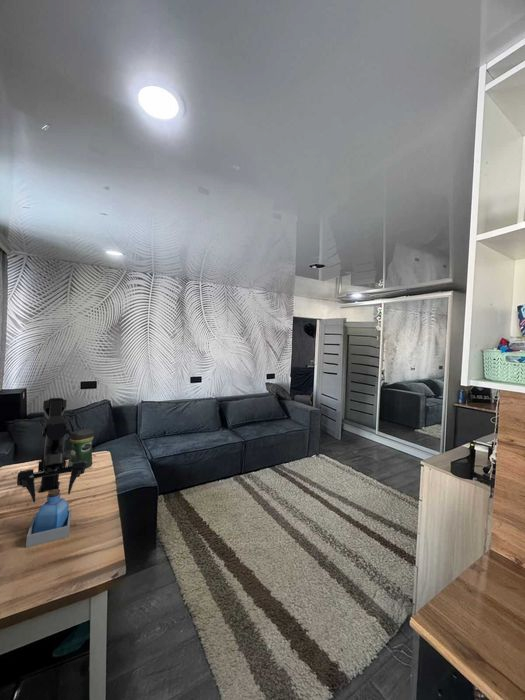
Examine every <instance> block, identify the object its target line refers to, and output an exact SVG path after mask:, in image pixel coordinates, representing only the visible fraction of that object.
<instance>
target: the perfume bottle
mask: <svg viewBox="0 0 525 700" xmlns="http://www.w3.org/2000/svg"><path fill="white" fill-rule="evenodd" d="M69 506H70V505H69V502H67V500H66V499H65V498H63V497H62V498H61V489H60V488H59V489H53V490H50V491H47V495H46V502H45V503H43V504H42V505H41V507H40V508H39V510H38V511H37V513H36V514H35V516H34V517H35V527H34V533H39V532H43V531H47V530H52V529H56V528H60V527H64V526H65V525H66V524H67V520H68V510H69Z"/></svg>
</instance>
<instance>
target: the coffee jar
mask: <svg viewBox="0 0 525 700" xmlns="http://www.w3.org/2000/svg"><path fill="white" fill-rule="evenodd" d="M94 437H95V433H94V430H93V428H89V427H88V428H84V429H79V430H75V431H72V432H70V437H69V443H70V459H69V460H68V464H67V467H70V466H72V464H73V462H80V461H85V462H86V468H85V470H86V469H88V468H90V467H92V465H93V440H94Z"/></svg>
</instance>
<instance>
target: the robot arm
mask: <svg viewBox="0 0 525 700" xmlns="http://www.w3.org/2000/svg"><path fill="white" fill-rule="evenodd" d="M67 402H68V401H67V399H64V398H63V397H51V398H49V399H46V400H44V401H43V403H42V411H44V415H43V416H45V418H46V420H45V425H44V426H42V436H41V437H42V438H44V439H45V442H44V452H43V453H42V454H41V458H40V459H41V460H40V461H38V465H37V466H38V467H37V471H36V472H34V468H32V469H24V470H20V471H19V472H18V473H17V479H16V484H17V485H16V486H19V487H20V486H21V487H22V488H26V490H27V491H28V492H29V494H30V496H31V497H30V498H31V500H32V502H33V503H35V502H36V490H35V489H36V488H35V487H36V486H35V480H36V479H40V478H41V481H40V486H39V488H38V490H37V491H38V493H46V492H49V491H50V490H53V489H60V484H61V481H59V479H60V475H62V474H68V473H70V476H69V482H68V488H67V489H68V490H67V494H68V495H70V494H71V491H72V488H73V485H74V483H75V481H76V480H77V478H79V477H81V475H83V474H85V472H86V469H87V468H86V462H85V461H80V462H73V464H72V466H70V467H68V466H67V461H69V459H70V451H71V449H66V450H65V440H66V436H67V435H68V434H69V433H71V429H70V426H69V425H68V424H67V423H66V419H65V418H64V417H62V416H63V415H64V413H65V410H66V409H67ZM66 466H67V467H66ZM85 468H86V469H85Z"/></svg>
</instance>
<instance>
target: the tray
mask: <svg viewBox="0 0 525 700" xmlns="http://www.w3.org/2000/svg"><path fill="white" fill-rule="evenodd" d="M71 517H72V509H68V520H67V524H66V525H65V526H64V527H60V528H56V529H52V530H47V531H43V532H39V533H34V527H35V516H33V517H32V519H31V522H30V526H29V529H28V533H27V535H26V543H25V545H26V546H25V548H26V549H27V548H31V547H34V546H38V545H42V544H47V543H50V542H54V541H58V540H63V539H65V537H67V538H69V536H70V528H71V521H70V520H71V519H72V518H71ZM62 538H63V539H62Z"/></svg>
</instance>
